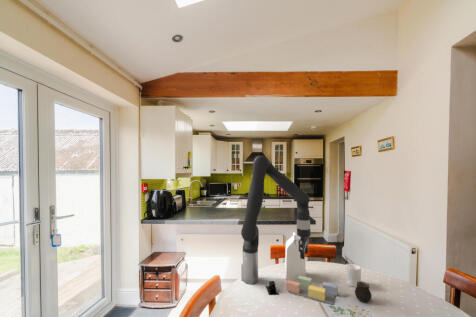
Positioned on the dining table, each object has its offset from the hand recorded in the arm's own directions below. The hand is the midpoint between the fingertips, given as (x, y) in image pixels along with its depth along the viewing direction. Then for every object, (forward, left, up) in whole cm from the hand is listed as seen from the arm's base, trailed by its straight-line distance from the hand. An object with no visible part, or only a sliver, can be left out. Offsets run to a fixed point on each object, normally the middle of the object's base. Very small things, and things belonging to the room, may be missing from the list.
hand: (304, 256), depth 125 cm
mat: (+5, -5, -17) cm, 18 cm away
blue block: (+13, -1, -16) cm, 21 cm away
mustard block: (+8, -8, -16) cm, 20 cm away
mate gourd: (+29, +1, -17) cm, 34 cm away
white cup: (+24, +16, -17) cm, 33 cm away
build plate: (-15, -13, -18) cm, 26 cm away
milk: (-8, +9, -17) cm, 21 cm away
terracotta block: (-5, -8, -16) cm, 19 cm away
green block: (0, 0, -16) cm, 16 cm away
